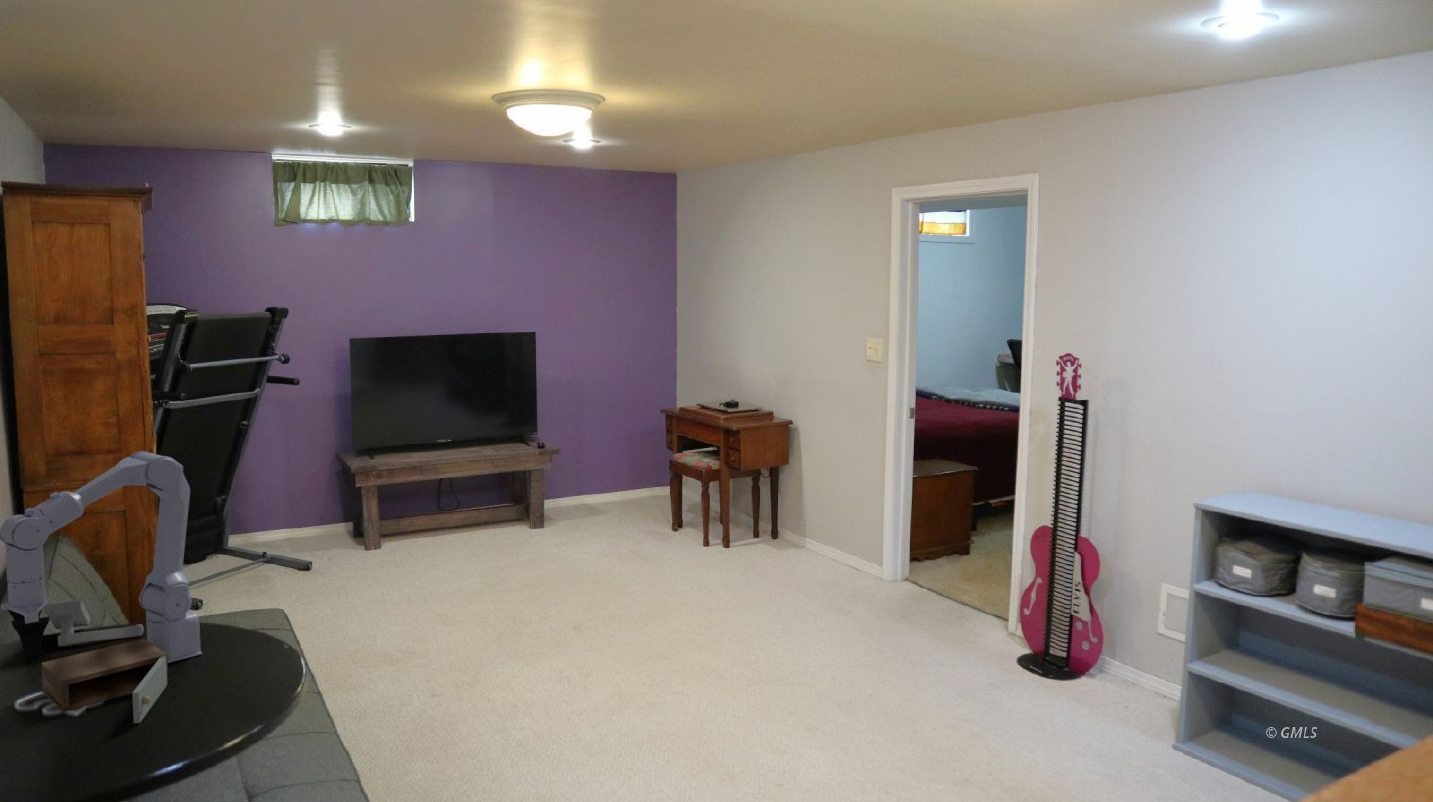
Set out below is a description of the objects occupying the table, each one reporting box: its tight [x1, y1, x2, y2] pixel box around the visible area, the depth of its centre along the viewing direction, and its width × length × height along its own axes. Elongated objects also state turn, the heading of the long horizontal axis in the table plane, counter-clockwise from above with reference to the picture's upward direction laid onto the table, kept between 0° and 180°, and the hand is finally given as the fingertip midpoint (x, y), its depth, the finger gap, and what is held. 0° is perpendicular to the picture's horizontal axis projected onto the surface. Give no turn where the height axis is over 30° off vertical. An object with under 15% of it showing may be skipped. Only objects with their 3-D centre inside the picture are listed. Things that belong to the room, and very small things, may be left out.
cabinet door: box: [131, 656, 168, 724], centre depth 182 cm, size 17×2×6 cm, turn 15°
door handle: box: [42, 598, 144, 648], centre depth 213 cm, size 18×8×20 cm
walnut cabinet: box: [41, 638, 169, 713], centre depth 188 cm, size 18×12×6 cm, turn 140°
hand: (30, 648), depth 182 cm, fingers open, 7 cm apart
